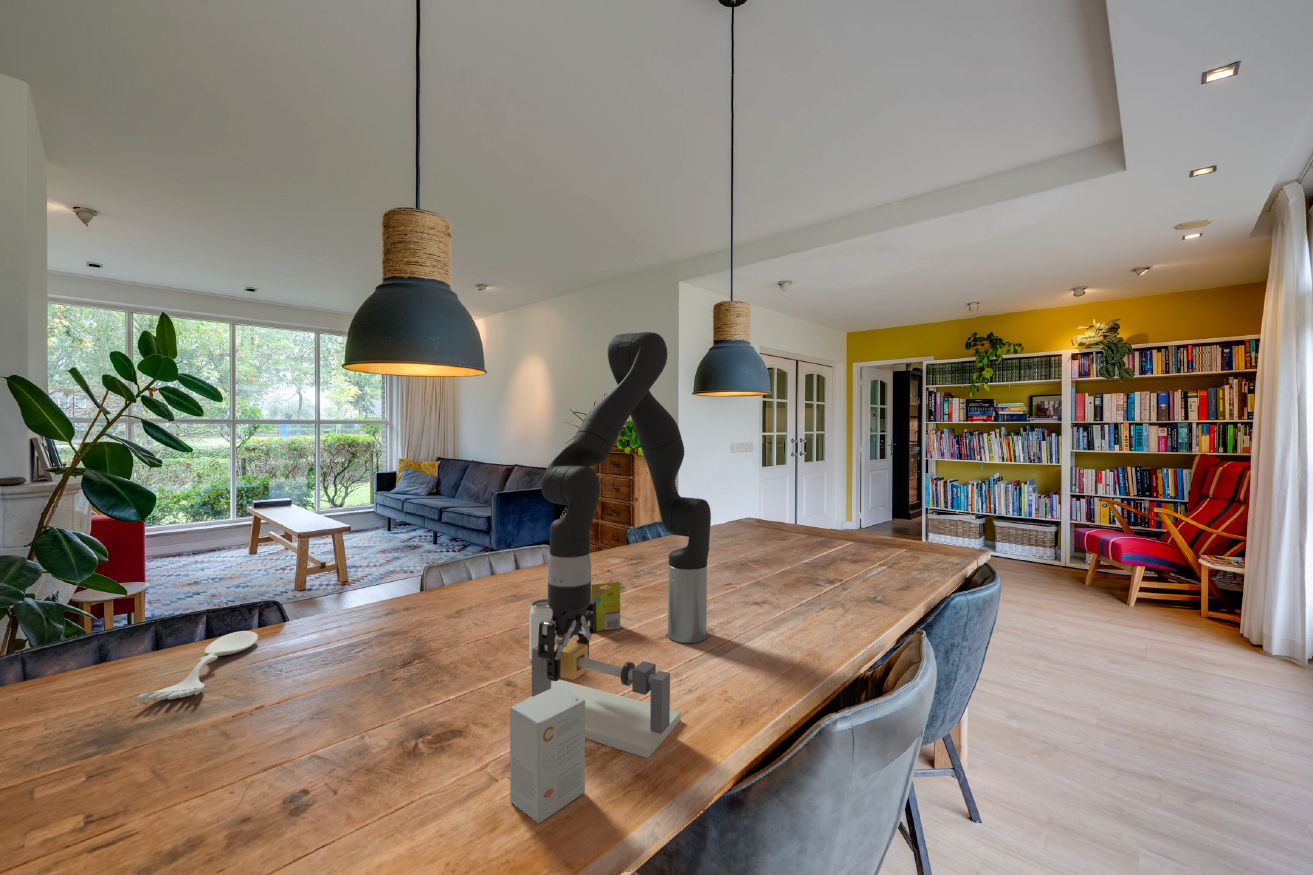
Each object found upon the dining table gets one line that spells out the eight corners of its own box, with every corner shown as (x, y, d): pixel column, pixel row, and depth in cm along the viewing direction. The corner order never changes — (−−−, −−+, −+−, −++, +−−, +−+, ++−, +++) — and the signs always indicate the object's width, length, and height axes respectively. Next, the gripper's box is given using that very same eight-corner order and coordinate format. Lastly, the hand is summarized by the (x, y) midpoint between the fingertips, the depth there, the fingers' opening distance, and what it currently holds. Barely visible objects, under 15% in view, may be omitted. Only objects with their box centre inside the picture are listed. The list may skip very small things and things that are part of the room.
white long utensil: (134, 715, 93) (133, 695, 93) (218, 643, 124) (218, 628, 124) (197, 707, 96) (197, 688, 96) (265, 639, 127) (265, 624, 127)
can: (553, 666, 114) (553, 609, 113) (524, 663, 115) (524, 606, 115) (564, 653, 120) (565, 599, 120) (537, 651, 121) (537, 597, 121)
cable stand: (557, 686, 105) (557, 630, 105) (680, 720, 93) (681, 657, 93) (514, 715, 94) (515, 653, 94) (648, 758, 83) (649, 687, 82)
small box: (556, 773, 79) (556, 684, 78) (586, 793, 75) (586, 698, 74) (508, 802, 73) (508, 706, 72) (538, 825, 68) (538, 723, 68)
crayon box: (617, 624, 138) (618, 578, 138) (620, 629, 135) (621, 582, 135) (588, 627, 136) (589, 581, 135) (591, 632, 133) (591, 584, 133)
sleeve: (564, 663, 99) (564, 639, 99) (587, 669, 97) (587, 645, 97) (549, 673, 95) (549, 648, 95) (573, 679, 93) (573, 654, 93)
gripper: (562, 592, 88) (561, 692, 88) (609, 571, 101) (608, 658, 101) (526, 585, 91) (525, 681, 92) (575, 566, 104) (574, 651, 104)
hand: (568, 669), depth 96 cm, fingers open, 8 cm apart
